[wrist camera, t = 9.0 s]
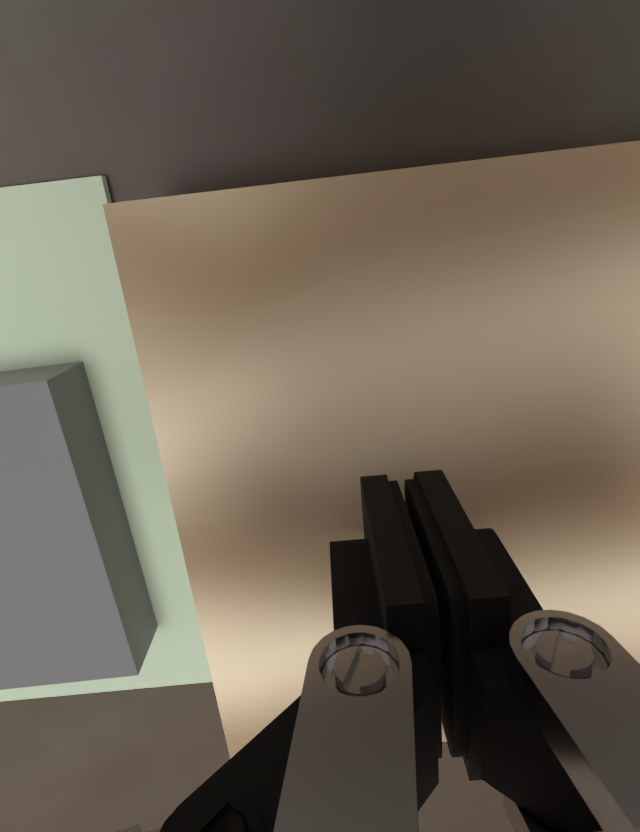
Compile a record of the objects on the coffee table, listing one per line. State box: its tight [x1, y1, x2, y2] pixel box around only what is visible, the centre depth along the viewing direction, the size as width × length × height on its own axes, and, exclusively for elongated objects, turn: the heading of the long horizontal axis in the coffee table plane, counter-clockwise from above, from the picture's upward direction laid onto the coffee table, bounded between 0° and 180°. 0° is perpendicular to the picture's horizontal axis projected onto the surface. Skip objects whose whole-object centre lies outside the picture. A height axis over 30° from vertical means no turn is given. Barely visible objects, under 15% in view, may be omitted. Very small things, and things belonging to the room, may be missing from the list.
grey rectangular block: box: [0, 361, 158, 690], centre depth 15 cm, size 9×6×2 cm, turn 7°
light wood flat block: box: [102, 140, 640, 759], centre depth 13 cm, size 14×18×4 cm
